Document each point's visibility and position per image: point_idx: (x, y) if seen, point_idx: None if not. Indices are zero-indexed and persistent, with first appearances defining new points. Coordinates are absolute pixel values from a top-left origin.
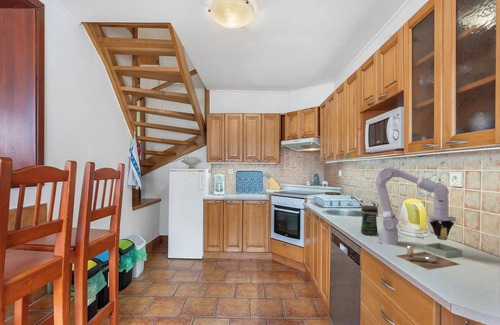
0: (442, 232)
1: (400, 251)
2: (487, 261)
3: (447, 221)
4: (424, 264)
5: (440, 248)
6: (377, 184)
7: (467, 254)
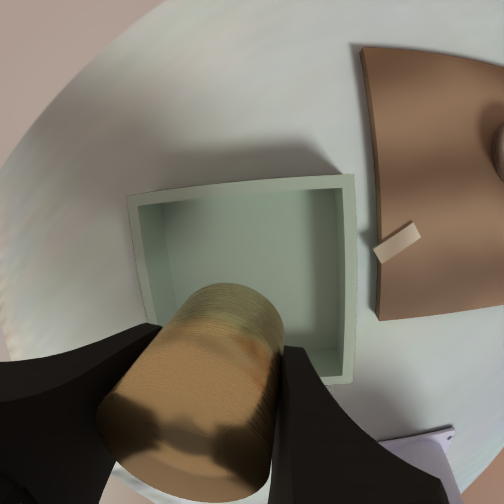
0: (256, 357)
1: (475, 369)
2: (80, 106)
3: (5, 485)
4: None
5: None
6: None
7: (79, 228)
